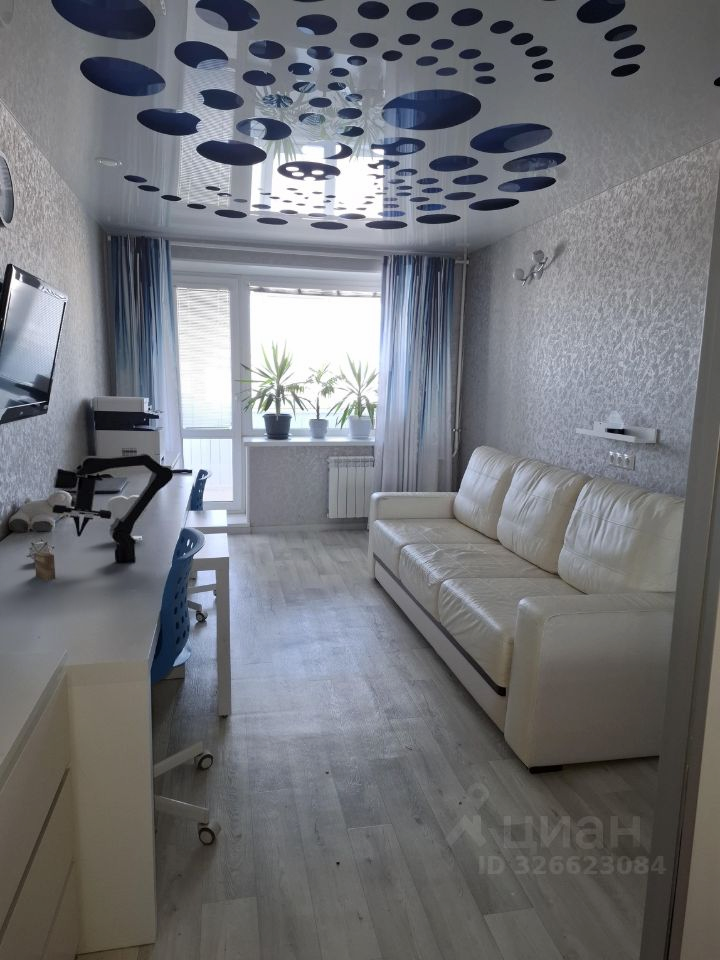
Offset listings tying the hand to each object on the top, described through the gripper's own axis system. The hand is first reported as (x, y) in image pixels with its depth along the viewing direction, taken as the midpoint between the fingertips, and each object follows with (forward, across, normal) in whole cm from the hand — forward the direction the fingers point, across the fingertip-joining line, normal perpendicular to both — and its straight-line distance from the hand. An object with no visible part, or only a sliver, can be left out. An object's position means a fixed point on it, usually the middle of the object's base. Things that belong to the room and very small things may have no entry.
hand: (78, 536), depth 224 cm
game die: (+12, +11, -14) cm, 22 cm away
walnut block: (+14, +8, +5) cm, 17 cm away
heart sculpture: (+2, -19, -40) cm, 45 cm away
